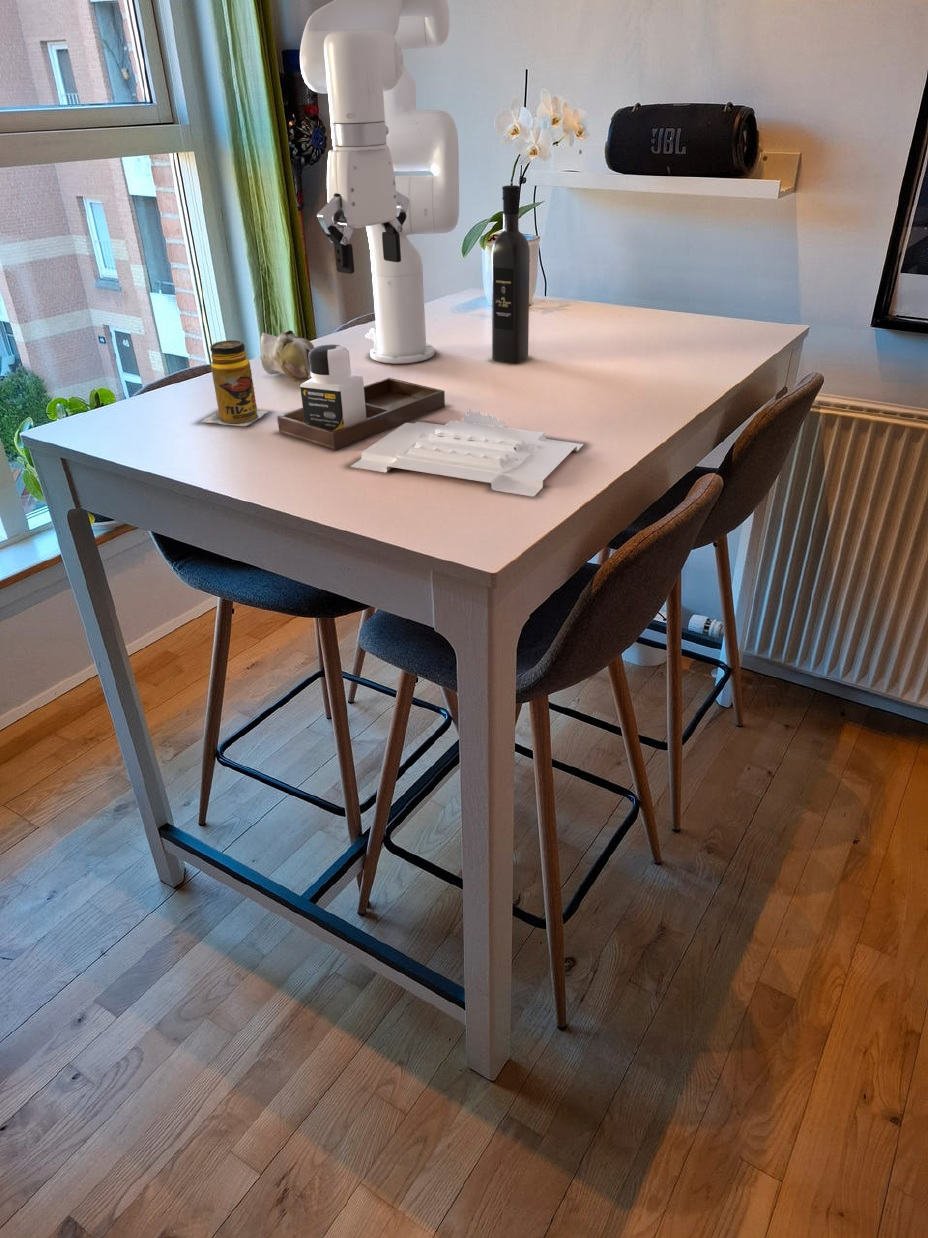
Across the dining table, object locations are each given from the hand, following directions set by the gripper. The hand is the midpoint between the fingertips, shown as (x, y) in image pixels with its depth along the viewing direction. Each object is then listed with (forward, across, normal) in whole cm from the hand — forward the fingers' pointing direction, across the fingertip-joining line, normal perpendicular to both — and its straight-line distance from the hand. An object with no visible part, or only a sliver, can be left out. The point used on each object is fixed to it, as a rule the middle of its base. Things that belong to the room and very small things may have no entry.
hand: (369, 266), depth 132 cm
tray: (+22, +6, +24) cm, 33 cm away
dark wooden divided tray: (+23, +4, 0) cm, 23 cm away
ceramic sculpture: (+23, -5, -27) cm, 36 cm away
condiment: (+23, +16, -18) cm, 33 cm away
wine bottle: (+23, -37, -2) cm, 44 cm away
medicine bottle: (+22, +10, 0) cm, 24 cm away
